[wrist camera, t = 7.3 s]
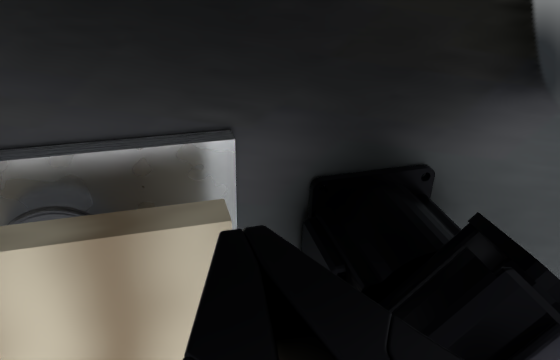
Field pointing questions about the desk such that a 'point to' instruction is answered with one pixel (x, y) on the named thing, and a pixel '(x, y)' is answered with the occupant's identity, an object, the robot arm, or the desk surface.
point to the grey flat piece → (117, 176)
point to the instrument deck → (106, 282)
